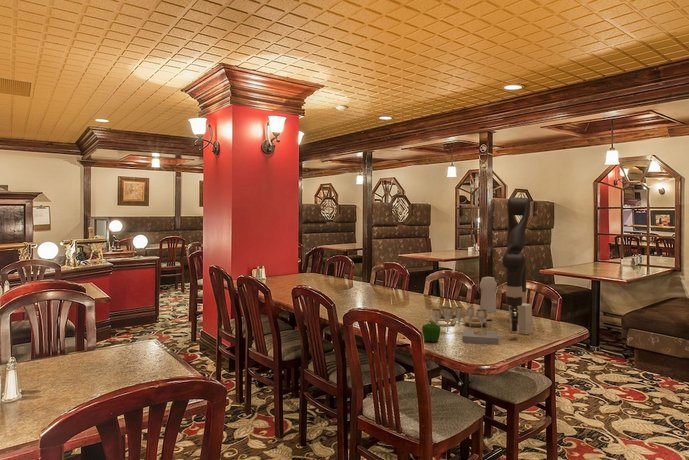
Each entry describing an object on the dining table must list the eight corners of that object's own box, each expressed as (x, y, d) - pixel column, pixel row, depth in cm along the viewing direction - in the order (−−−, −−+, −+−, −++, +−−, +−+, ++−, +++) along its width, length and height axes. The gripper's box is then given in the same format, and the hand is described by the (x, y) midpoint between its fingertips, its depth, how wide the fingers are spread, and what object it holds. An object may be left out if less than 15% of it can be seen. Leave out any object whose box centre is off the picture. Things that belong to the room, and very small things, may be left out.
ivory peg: (509, 331, 223) (509, 311, 223) (518, 332, 222) (518, 312, 222) (510, 334, 219) (510, 313, 219) (518, 334, 218) (518, 314, 218)
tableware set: (427, 326, 249) (427, 319, 249) (431, 314, 277) (431, 308, 277) (494, 329, 239) (494, 322, 239) (491, 317, 268) (491, 310, 267)
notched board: (463, 335, 228) (463, 329, 228) (496, 337, 224) (496, 331, 223) (463, 342, 216) (463, 336, 216) (498, 344, 212) (498, 338, 212)
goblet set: (432, 334, 232) (432, 308, 232) (431, 331, 238) (431, 306, 237) (488, 335, 228) (488, 309, 228) (486, 332, 234) (486, 306, 234)
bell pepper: (419, 339, 222) (419, 319, 222) (434, 338, 225) (434, 318, 224) (427, 344, 214) (427, 323, 214) (443, 342, 216) (442, 322, 216)
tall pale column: (480, 312, 278) (480, 277, 277) (478, 311, 282) (478, 276, 281) (497, 312, 278) (497, 276, 277) (495, 311, 282) (495, 276, 281)
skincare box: (533, 333, 231) (533, 304, 230) (525, 335, 227) (525, 305, 227) (518, 329, 238) (518, 301, 237) (511, 331, 234) (511, 303, 234)
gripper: (504, 292, 228) (504, 325, 228) (506, 297, 214) (507, 333, 215) (520, 292, 225) (520, 326, 226) (523, 298, 212) (523, 334, 213)
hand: (514, 329), depth 221 cm, fingers closed on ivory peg, 4 cm apart
